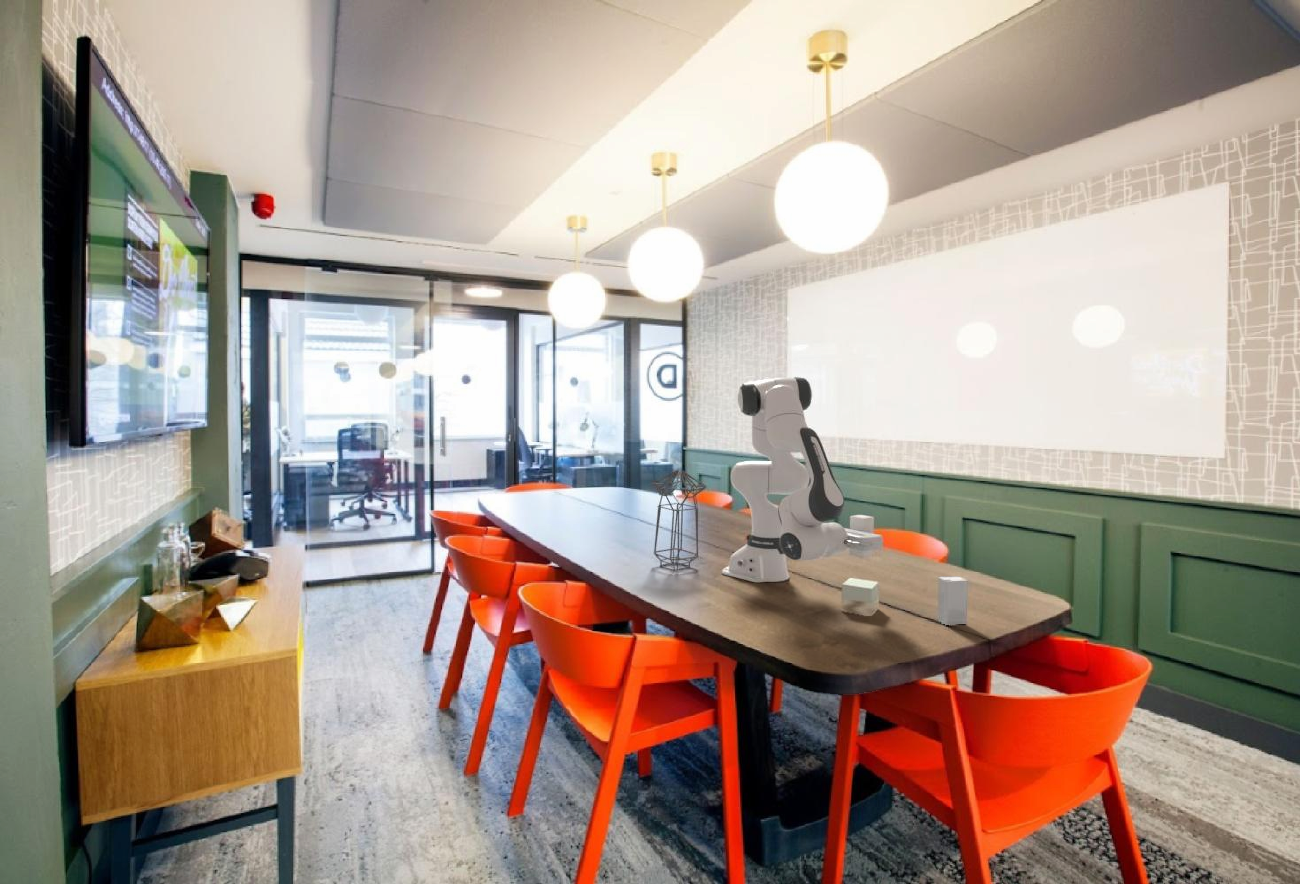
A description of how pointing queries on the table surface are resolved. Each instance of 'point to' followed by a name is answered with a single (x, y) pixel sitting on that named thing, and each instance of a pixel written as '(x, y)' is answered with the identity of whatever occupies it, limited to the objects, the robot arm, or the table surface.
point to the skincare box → (952, 600)
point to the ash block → (860, 607)
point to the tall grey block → (863, 525)
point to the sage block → (860, 590)
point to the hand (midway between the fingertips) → (863, 533)
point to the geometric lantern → (677, 514)
